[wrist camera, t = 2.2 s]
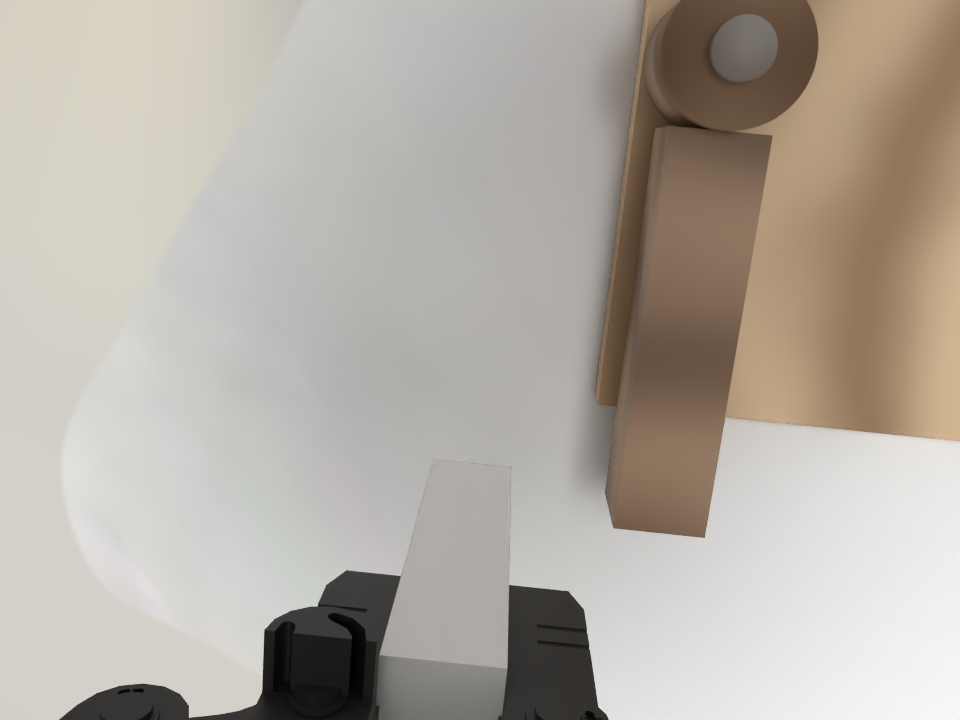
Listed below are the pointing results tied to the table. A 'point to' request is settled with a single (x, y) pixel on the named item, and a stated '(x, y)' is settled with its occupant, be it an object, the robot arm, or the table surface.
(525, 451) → the table surface
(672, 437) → the leg bar
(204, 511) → the table surface
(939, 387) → the frame board
